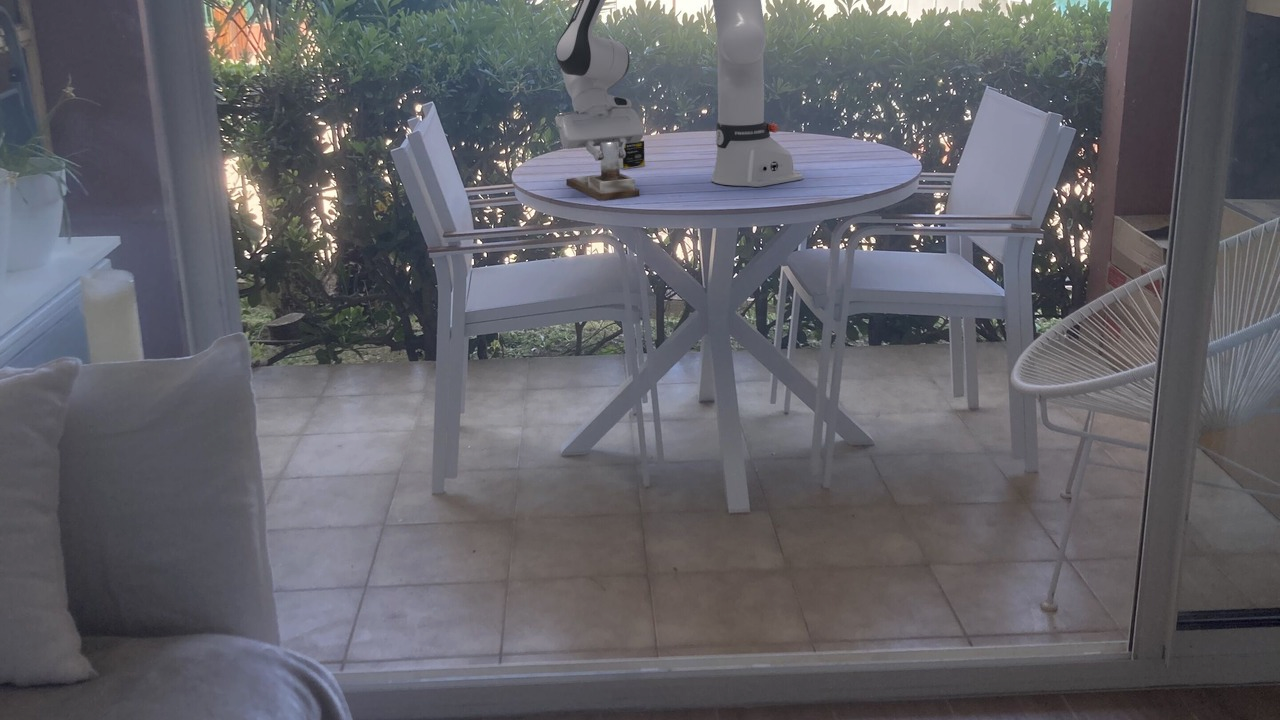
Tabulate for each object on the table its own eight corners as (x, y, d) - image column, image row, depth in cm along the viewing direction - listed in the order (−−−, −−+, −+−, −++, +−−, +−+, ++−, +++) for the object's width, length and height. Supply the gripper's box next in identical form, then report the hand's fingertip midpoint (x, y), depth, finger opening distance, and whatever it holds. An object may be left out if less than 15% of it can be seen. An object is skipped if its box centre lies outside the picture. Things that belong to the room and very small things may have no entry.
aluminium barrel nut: (615, 173, 269) (614, 139, 267) (622, 176, 266) (621, 142, 263) (598, 175, 268) (597, 141, 265) (605, 178, 264) (604, 143, 261)
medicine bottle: (623, 169, 299) (622, 123, 295) (607, 166, 304) (606, 120, 300) (645, 166, 303) (644, 120, 298) (629, 162, 308) (628, 118, 304)
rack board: (604, 180, 285) (603, 164, 283) (639, 196, 266) (639, 179, 264) (566, 184, 281) (565, 168, 280) (599, 200, 262) (599, 183, 261)
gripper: (555, 105, 263) (572, 153, 258) (636, 98, 271) (654, 145, 266) (549, 122, 268) (566, 170, 263) (629, 115, 276) (646, 162, 271)
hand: (610, 157), depth 265 cm, fingers closed on aluminium barrel nut, 4 cm apart
